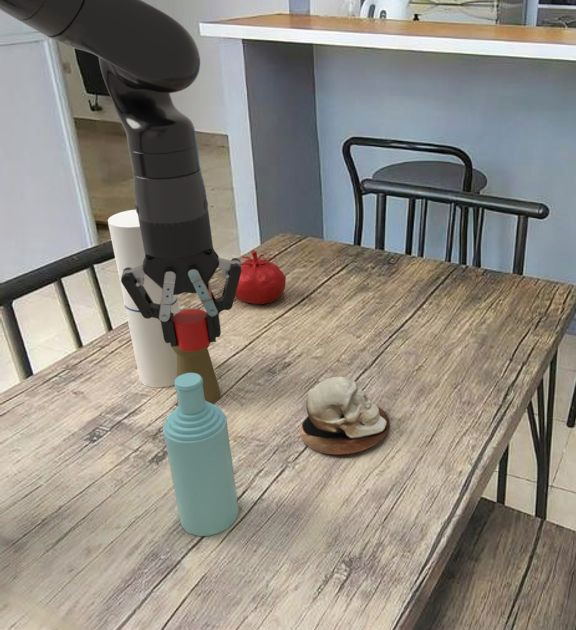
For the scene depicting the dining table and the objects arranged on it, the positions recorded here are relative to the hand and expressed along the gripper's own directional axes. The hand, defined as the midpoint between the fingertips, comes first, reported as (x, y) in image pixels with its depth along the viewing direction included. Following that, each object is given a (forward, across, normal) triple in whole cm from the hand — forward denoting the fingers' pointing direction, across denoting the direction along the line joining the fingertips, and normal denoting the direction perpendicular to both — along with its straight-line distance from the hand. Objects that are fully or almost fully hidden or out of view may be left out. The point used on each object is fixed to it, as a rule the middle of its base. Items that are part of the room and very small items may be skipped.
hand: (193, 340), depth 84 cm
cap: (0, 0, 0) cm, 0 cm away
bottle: (+14, 0, +16) cm, 21 cm away
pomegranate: (+14, -10, -39) cm, 43 cm away
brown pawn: (+14, +1, -9) cm, 17 cm away
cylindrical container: (+14, +6, -16) cm, 23 cm away
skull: (+14, -18, +4) cm, 23 cm away
